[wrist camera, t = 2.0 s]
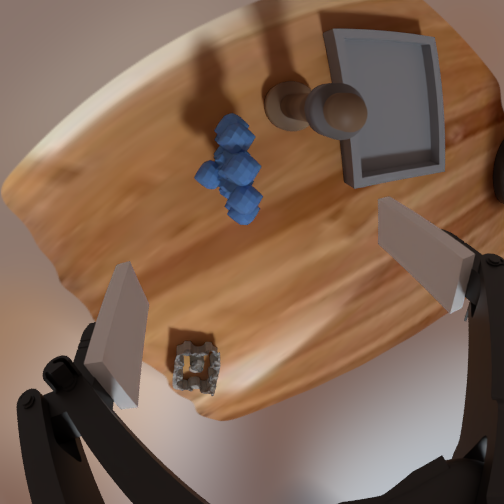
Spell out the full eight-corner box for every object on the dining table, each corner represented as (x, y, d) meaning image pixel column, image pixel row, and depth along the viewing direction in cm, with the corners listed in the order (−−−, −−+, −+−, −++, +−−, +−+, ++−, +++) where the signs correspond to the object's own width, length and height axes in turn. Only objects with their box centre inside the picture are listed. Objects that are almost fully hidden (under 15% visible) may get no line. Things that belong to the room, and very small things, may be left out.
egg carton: (212, 380, 53) (214, 398, 49) (171, 378, 51) (171, 395, 47) (222, 341, 48) (225, 359, 45) (176, 337, 46) (176, 355, 43)
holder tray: (421, 38, 30) (434, 37, 28) (432, 166, 40) (444, 171, 37) (322, 33, 29) (332, 28, 27) (344, 182, 39) (354, 188, 36)
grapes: (186, 117, 32) (181, 124, 21) (245, 108, 33) (268, 111, 22) (202, 210, 38) (206, 257, 27) (256, 201, 38) (280, 243, 28)
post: (308, 79, 32) (378, 72, 18) (316, 126, 35) (386, 146, 21) (259, 85, 32) (305, 76, 18) (269, 134, 34) (317, 157, 21)
